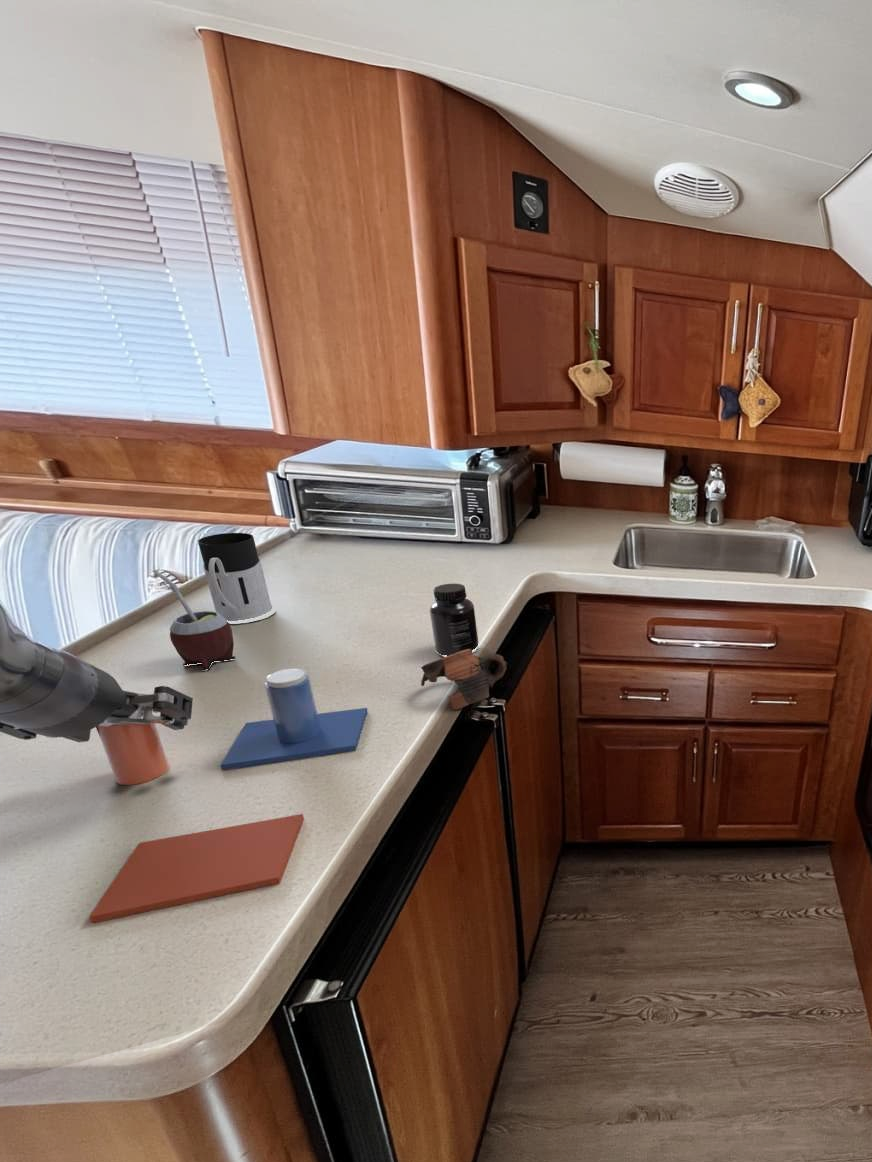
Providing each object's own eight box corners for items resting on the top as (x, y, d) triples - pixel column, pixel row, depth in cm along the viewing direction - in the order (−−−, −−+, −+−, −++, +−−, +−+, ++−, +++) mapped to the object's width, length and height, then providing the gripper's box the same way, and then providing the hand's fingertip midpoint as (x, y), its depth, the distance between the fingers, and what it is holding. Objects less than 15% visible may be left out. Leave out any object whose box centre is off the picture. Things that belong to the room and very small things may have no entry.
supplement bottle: (484, 642, 116) (477, 581, 112) (472, 659, 110) (465, 595, 106) (443, 642, 115) (435, 580, 111) (429, 659, 109) (420, 594, 104)
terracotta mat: (91, 923, 58) (88, 917, 58) (141, 848, 67) (139, 842, 66) (280, 883, 64) (278, 877, 64) (304, 818, 72) (303, 813, 72)
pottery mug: (433, 720, 93) (410, 669, 92) (440, 715, 102) (419, 668, 101) (516, 686, 98) (495, 637, 97) (517, 684, 106) (497, 639, 106)
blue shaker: (274, 746, 83) (258, 686, 79) (283, 727, 86) (268, 669, 83) (317, 740, 84) (303, 681, 81) (324, 722, 88) (311, 665, 85)
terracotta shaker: (108, 788, 74) (83, 723, 71) (127, 765, 78) (103, 702, 75) (160, 780, 76) (137, 716, 73) (175, 759, 80) (155, 697, 77)
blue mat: (221, 770, 79) (220, 765, 78) (247, 727, 87) (246, 722, 87) (355, 750, 84) (354, 745, 84) (367, 712, 93) (367, 707, 93)
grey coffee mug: (281, 604, 124) (263, 530, 118) (260, 634, 112) (240, 553, 106) (223, 608, 120) (202, 532, 115) (196, 640, 108) (171, 556, 103)
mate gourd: (234, 668, 101) (209, 580, 95) (167, 677, 97) (137, 586, 91) (242, 649, 107) (220, 565, 101) (179, 656, 103) (152, 569, 97)
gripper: (144, 646, 66) (213, 689, 80) (-53, 663, 61) (57, 706, 74) (136, 716, 64) (208, 747, 78) (-71, 740, 58) (47, 770, 72)
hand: (134, 727), depth 76 cm, fingers open, 8 cm apart
